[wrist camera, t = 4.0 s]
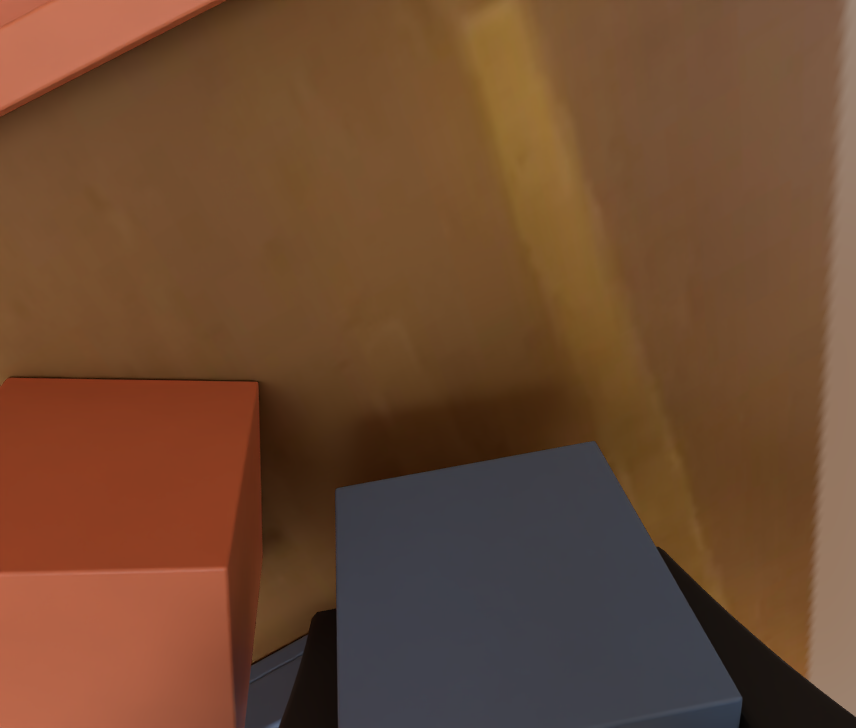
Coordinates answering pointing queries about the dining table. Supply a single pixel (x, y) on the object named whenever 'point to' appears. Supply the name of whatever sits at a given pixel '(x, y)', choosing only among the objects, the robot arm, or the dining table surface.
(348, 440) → the dining table surface
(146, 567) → the terracotta block
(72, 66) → the terracotta tray
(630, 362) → the dining table surface
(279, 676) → the slate tray
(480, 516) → the slate block
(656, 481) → the dining table surface
